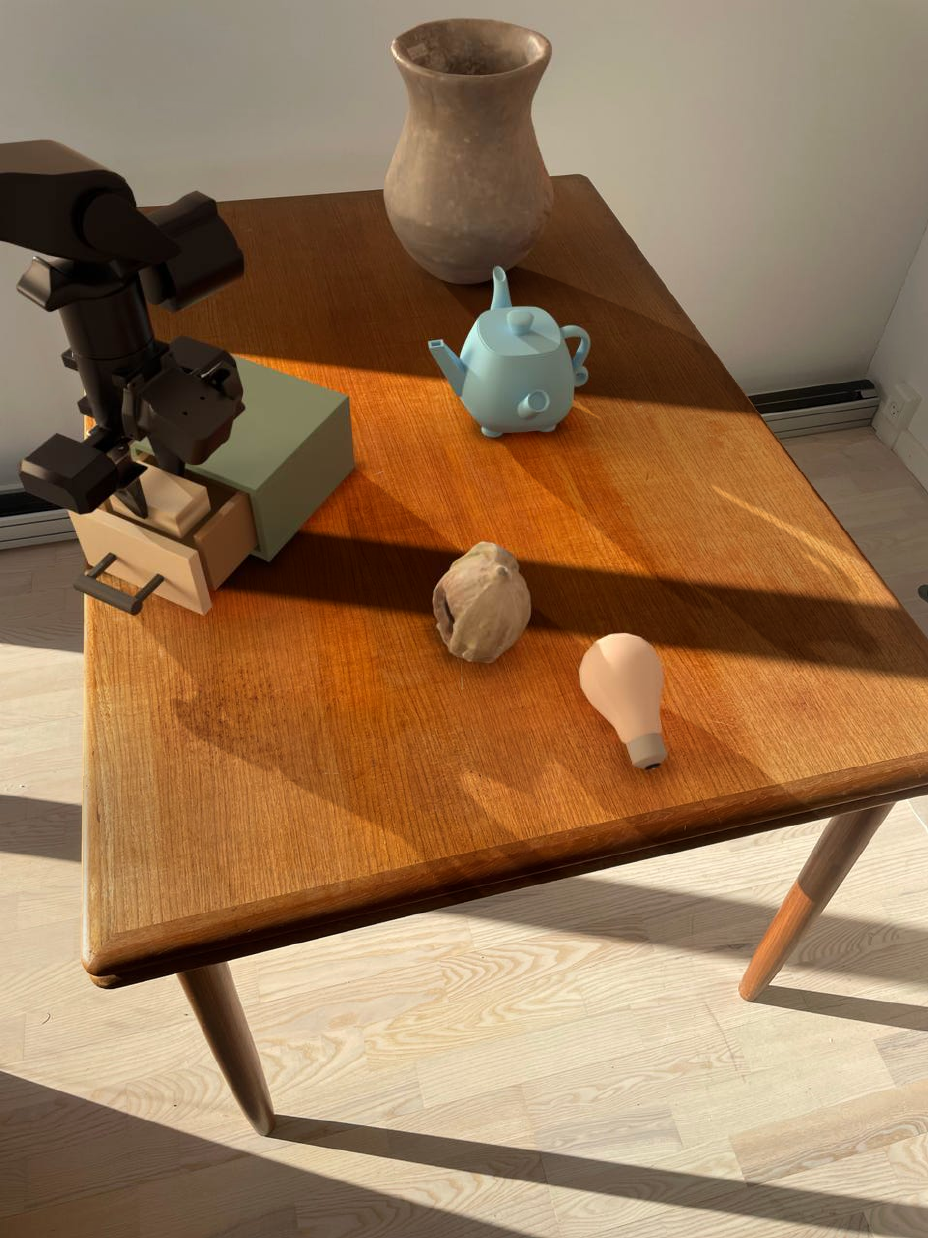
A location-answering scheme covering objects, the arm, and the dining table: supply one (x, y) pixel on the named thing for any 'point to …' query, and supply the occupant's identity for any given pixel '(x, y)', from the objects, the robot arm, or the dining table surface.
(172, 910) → the dining table surface
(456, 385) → the teapot
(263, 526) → the cabinet
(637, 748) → the light bulb
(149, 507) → the beige rectangular block
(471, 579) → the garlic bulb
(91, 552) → the drawer
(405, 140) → the vase
